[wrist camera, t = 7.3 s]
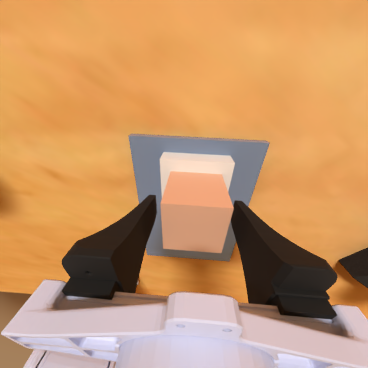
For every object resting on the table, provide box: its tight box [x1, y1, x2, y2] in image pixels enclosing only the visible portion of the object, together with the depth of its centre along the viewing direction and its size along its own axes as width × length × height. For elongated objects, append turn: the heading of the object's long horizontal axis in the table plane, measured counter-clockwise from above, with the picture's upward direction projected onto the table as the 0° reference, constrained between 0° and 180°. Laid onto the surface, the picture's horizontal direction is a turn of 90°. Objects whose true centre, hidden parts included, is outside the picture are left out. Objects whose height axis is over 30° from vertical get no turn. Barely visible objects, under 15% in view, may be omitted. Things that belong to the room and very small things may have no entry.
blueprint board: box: [129, 134, 270, 261], centre depth 19 cm, size 20×14×3 cm
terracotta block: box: [160, 171, 234, 253], centre depth 13 cm, size 5×5×5 cm
